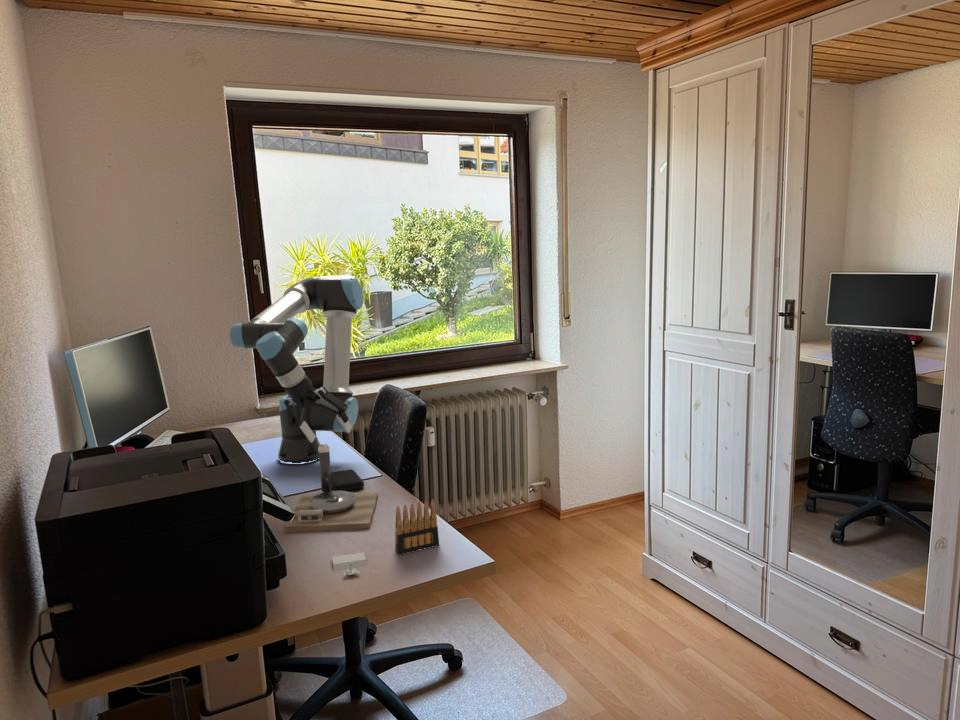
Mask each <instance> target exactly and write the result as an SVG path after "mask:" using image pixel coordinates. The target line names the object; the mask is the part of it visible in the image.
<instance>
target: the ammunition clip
mask: <svg viewBox="0 0 960 720" xmlns="http://www.w3.org/2000/svg"><path fill="white" fill-rule="evenodd" d="M402 508H403V509H402V513H401V509H400V506H399V505H397V506H396V510H395V523H394V524H395V536H394V539H395V540H394V541H395V543H394V544H395V548H394V549H395V550H394V551H395V554H396V553H397V554H396V555H397V556H400V555H399V554H401V555H404V554H403V553H406V554H408V553H407V552H410V553H413V552H412V551H415V552H417V551H416V550H419V549H423V550H425V549H424V548H428V547H432V546H436V545H439V546H440V538H439V528H438V519H437V511H436V510H437V509H436V503H435V501H434V498H432V499H431V503H430V508H429V504H428V502H427V500H425V501H424V504H423V508H422V505H421V502H420V501H418V502H417V505H416V508H415V506H414V503H413V502H411V504H410V507H409V509H410V510H409V511H408V508H407V505H406V504H404V505H403V507H402ZM415 509H416V511H415ZM429 509H430V510H429ZM432 548H433V547H432ZM428 549H429V548H428ZM419 551H420V550H419Z"/></svg>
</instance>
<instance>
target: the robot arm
mask: <svg viewBox="0 0 960 720" xmlns="http://www.w3.org/2000/svg"><path fill="white" fill-rule="evenodd" d="M282 295H283V296H281V297H280V298H279V299H277V300H276V301H275V302H273V303H272V304H270V305H269V306H267V308H265V309H264V310H262V311H261V312H260V313H259V314H257V315H256V316H255V317H254V318H252V319H251V320H249V321H248V322H246V323H244V322H240V323H235V324H233V325H232V327H230V330H229V339H230V343H231V345H232V346H233V347H235V348H237V349H256V350H257V352H258V353H259V355H260V358H261V359H262V360H263V361H264V362H265V365H267V366H268V368H269V369H270V371H271V373H273V375H274V376H275V379H276V380H277V381H278V383H279V384H280V386H281V387H283V390H284V391H285V392H286V394H287V395H285V396H282V397H281V398H280V400H279V403H278V405H279V411H278V412H279V418H280V420H279V421H280V431H281V442H280V446H279V449H278V454H277V455H278V456H277V457H278V458H279V459H280V460H281V461H284V462H292V463H301V462H309V461H313V460H316V459H318V458H319V451H318V448H319V446H320V445H321V444H320V441H319V438H318V436H317V431H318V432H319V431H320V432H335V433H338V432H339V433H340V432H346V433H347V434H349V433H351V430H352V429H353V428H354V425H355V423H356V422H357V419H358V416H359V415H358V414H359V401H358V399H357V398H356V397H353V394H354V392H353V391H352V390H351V389H350V384H349V383H350V363H351V361H350V360H351V342H352V323H353V321H352V320H353V319H354V318H355V317H356V316H357V311H358V310H360V309H362V307H363V305H364V291H363V289H362V285H361V283H360V281H359V280H358V278H357V277H355V276H353V275H344V274H342V275H325V276H324V275H315V276H311V277H307V278H305V279H302V280H300V281H298V282H296V283H295V284H292V285H291V286H290V287H288V288H287V289H286V290H285V291H284V293H283V294H282ZM309 310H322V314H323V316H325V318H326V327H325V328H326V329H325V345H324V363H323V364H324V365H323V368H324V369H323V381H322V382H323V384H322V385H321V386H320V388H318V389H315V388H314V387H313V382H312V381H311V379H310V378H309V377H308V375H307V374H306V371H304V369H303V368H302V366H301V365H300V364H301V363H299V362H298V360H297V359H296V357H295V355H294V353H295V352H296V351H297V349H298V348H299V347H300V345H301V344H302V343H303V342H304V341H305V338H306V337H307V335H308V332H309V329H308V325H307V323H306V322H305V321H304V320H303V319H301V318H299V317H297V315H298V314H303V313H305V312H307V311H309Z"/></svg>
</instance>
